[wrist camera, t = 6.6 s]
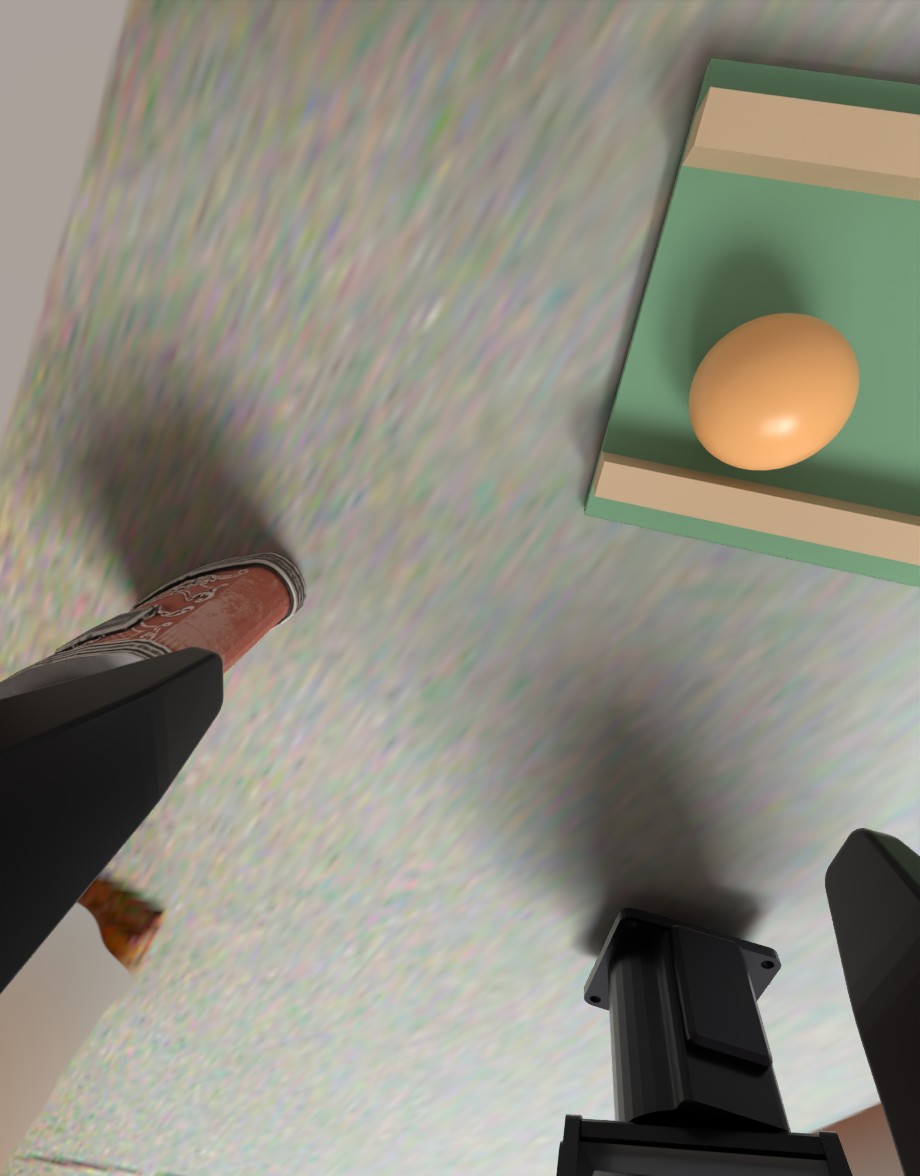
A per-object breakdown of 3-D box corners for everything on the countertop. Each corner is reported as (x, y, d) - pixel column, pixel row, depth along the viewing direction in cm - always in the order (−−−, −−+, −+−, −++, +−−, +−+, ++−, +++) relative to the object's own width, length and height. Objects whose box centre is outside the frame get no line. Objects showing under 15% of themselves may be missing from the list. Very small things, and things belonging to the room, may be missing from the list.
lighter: (279, 535, 20) (46, 688, 11) (321, 613, 21) (139, 808, 12) (125, 596, 23) (-163, 759, 14) (170, 662, 24) (-72, 855, 15)
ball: (866, 457, 14) (749, 522, 13) (758, 394, 16) (655, 448, 16) (929, 319, 11) (783, 396, 11) (787, 266, 13) (663, 328, 13)
